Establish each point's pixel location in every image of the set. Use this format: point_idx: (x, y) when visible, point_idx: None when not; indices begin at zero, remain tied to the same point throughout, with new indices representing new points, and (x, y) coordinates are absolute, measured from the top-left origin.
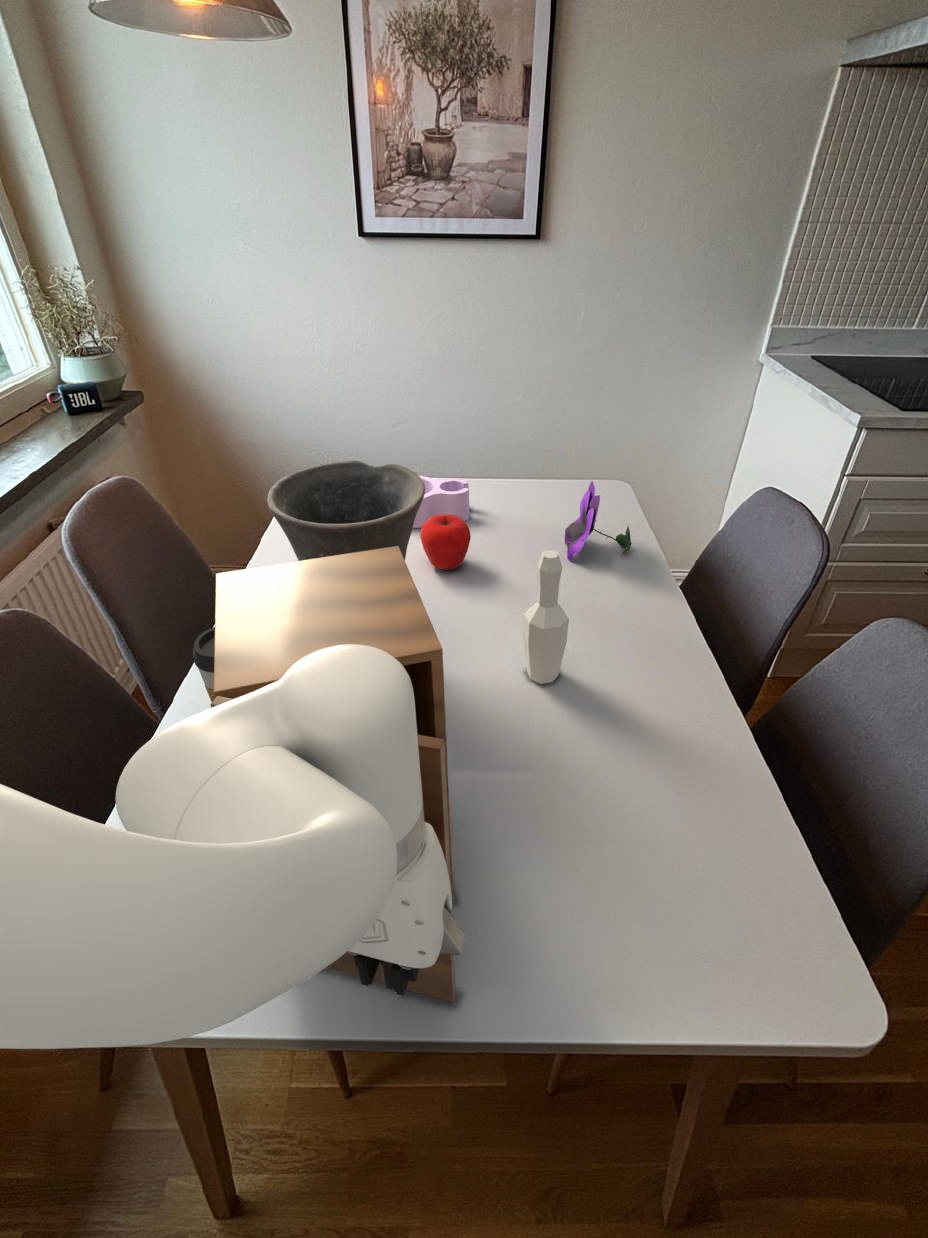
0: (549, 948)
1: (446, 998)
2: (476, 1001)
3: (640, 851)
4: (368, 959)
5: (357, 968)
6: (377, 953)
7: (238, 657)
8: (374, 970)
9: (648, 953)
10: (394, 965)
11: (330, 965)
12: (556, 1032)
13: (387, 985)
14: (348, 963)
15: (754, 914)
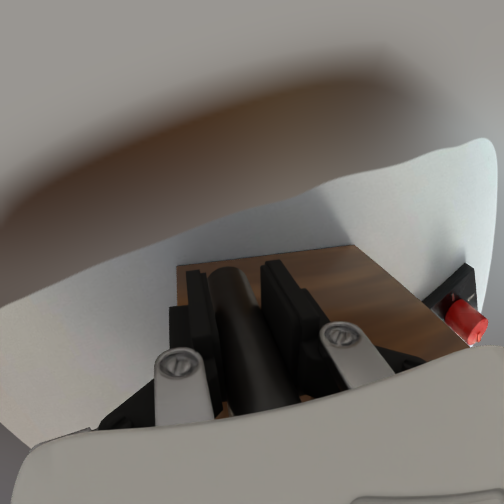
0: (113, 340)
1: (184, 267)
2: (155, 275)
3: (90, 421)
4: (287, 324)
5: (287, 260)
6: (265, 461)
7: None
8: (264, 293)
9: (43, 358)
10: (212, 345)
11: (314, 252)
12: (74, 277)
13: (232, 271)
14: (298, 261)
15: (6, 396)
